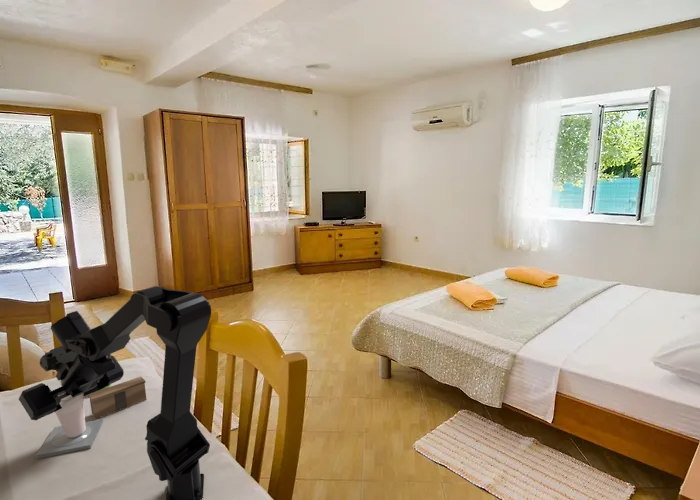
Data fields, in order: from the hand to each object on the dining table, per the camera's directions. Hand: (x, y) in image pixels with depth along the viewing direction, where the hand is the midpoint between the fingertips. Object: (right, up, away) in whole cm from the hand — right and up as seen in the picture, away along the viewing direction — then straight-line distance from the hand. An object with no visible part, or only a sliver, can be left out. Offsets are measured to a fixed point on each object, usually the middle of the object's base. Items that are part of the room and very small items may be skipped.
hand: (64, 403), depth 90 cm
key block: (+5, -6, +14) cm, 16 cm away
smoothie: (+2, -7, +2) cm, 8 cm away
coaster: (+1, -9, +1) cm, 9 cm away
